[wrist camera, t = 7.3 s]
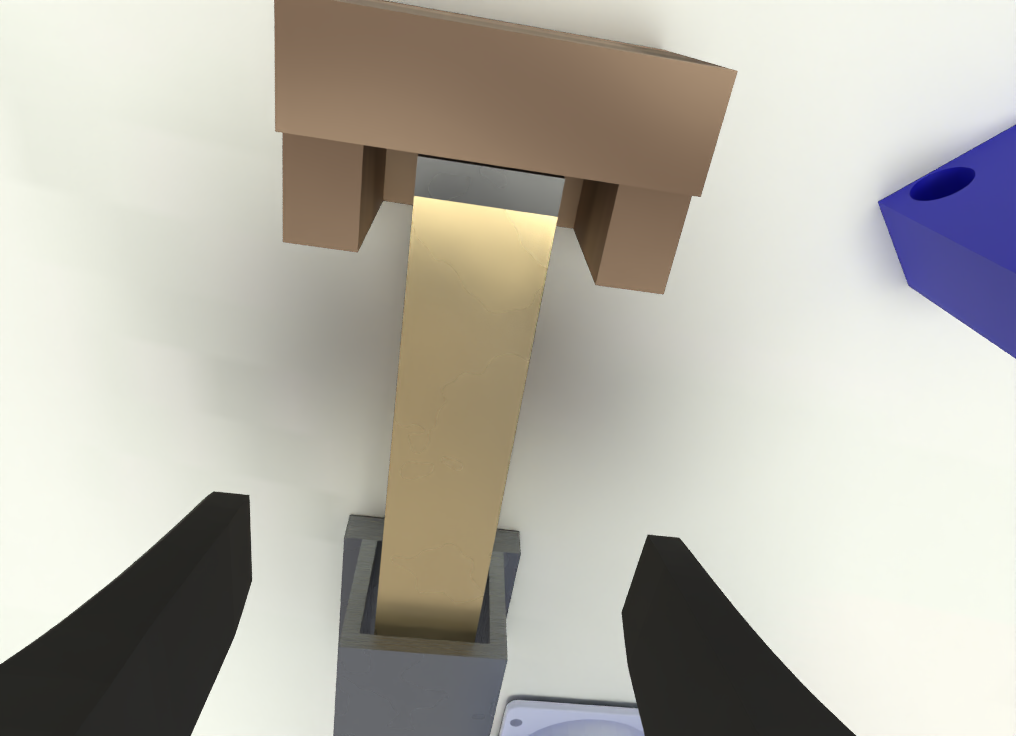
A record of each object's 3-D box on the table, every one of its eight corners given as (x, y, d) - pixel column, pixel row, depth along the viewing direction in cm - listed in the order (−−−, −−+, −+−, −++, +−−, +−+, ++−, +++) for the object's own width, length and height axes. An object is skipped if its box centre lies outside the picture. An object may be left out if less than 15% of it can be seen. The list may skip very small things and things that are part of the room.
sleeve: (494, 644, 27) (497, 781, 22) (343, 632, 26) (312, 770, 22) (519, 531, 24) (528, 661, 19) (350, 515, 24) (316, 645, 19)
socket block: (621, 225, 19) (668, 303, 14) (331, 182, 18) (275, 250, 13) (663, 49, 17) (737, 71, 12) (337, -8, 16) (274, -10, 11)
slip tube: (473, 579, 23) (472, 654, 21) (385, 572, 23) (372, 646, 20) (552, 149, 16) (564, 178, 14) (428, 130, 16) (417, 156, 13)
